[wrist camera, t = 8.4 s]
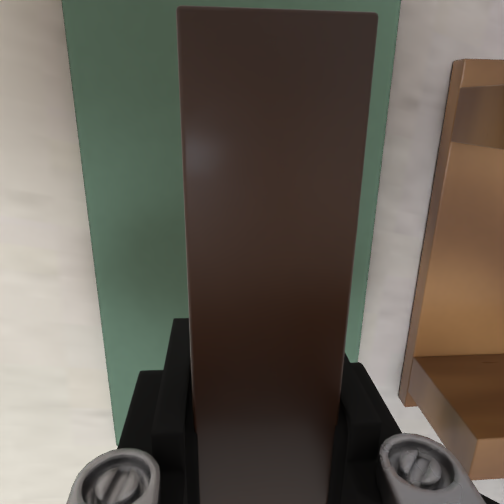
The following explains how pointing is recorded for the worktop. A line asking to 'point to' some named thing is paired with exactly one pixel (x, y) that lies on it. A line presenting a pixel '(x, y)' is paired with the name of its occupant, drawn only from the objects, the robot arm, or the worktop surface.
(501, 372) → the rack
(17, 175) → the worktop surface
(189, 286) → the fork
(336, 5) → the mat
